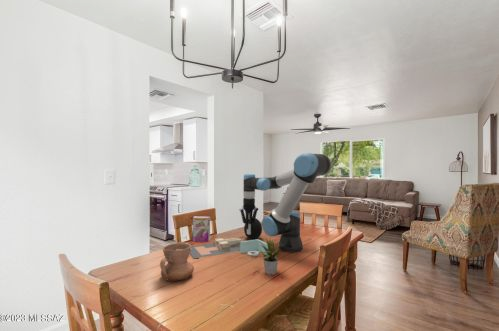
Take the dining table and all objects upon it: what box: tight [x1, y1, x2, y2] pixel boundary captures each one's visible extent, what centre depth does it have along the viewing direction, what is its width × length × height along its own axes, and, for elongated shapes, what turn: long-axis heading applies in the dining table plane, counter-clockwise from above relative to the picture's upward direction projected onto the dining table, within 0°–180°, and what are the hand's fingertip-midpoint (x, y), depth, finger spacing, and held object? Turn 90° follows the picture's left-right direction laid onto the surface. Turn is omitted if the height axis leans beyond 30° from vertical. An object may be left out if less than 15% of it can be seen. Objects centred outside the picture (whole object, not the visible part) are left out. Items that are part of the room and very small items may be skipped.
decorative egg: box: [243, 218, 263, 240], centre depth 179 cm, size 12×12×15 cm
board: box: [189, 242, 240, 260], centre depth 159 cm, size 22×36×1 cm, turn 117°
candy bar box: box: [191, 215, 211, 243], centre depth 175 cm, size 11×5×16 cm, turn 84°
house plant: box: [257, 237, 283, 275], centre depth 125 cm, size 14×14×16 cm
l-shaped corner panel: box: [239, 238, 268, 258], centre depth 148 cm, size 12×12×8 cm
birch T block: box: [213, 237, 243, 252], centre depth 162 cm, size 15×15×4 cm
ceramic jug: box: [159, 241, 195, 282], centre depth 118 cm, size 18×14×14 cm
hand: (248, 233), depth 169 cm, fingers closed
